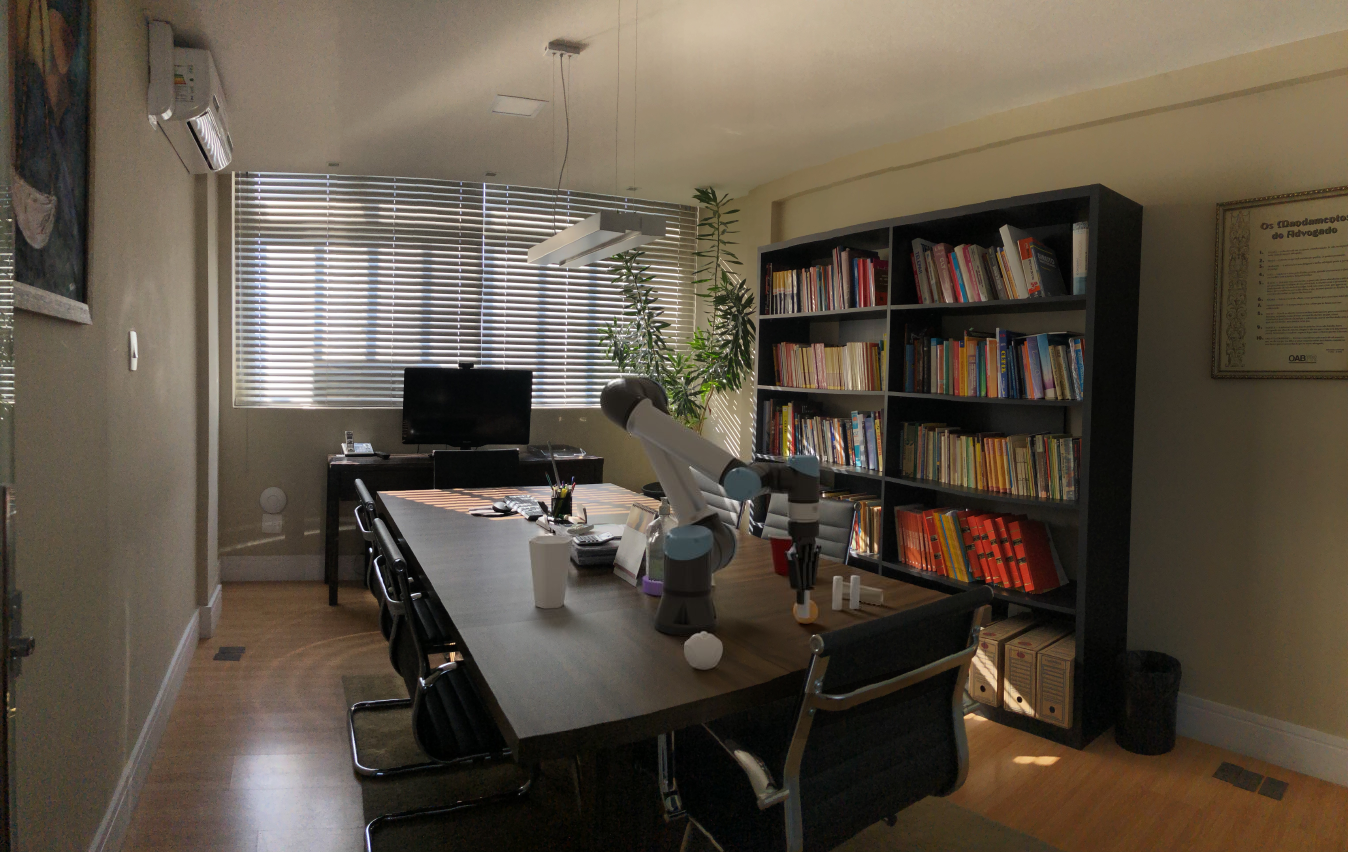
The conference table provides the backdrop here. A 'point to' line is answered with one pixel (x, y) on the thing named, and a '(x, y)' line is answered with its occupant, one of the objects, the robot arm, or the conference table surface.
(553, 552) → the cup
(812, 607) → the ball
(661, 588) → the masking tape
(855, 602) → the pin
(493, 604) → the conference table surface
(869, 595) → the stop wall
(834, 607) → the pin
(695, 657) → the white round lump
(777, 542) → the plastic cup
